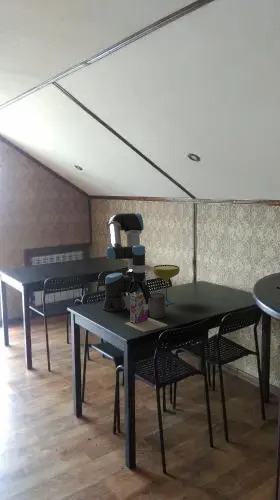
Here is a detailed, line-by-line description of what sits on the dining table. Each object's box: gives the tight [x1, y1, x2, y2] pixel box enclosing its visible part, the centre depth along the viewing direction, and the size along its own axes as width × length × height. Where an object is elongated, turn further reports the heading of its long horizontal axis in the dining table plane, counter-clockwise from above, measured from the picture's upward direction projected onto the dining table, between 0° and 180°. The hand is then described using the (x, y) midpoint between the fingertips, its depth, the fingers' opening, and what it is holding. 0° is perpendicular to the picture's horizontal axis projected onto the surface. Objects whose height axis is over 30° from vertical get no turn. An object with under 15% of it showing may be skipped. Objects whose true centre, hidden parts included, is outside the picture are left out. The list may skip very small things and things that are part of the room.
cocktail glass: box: [152, 264, 180, 306], centre depth 307 cm, size 18×18×25 cm
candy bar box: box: [129, 292, 149, 324], centre depth 265 cm, size 11×5×16 cm, turn 139°
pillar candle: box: [148, 292, 166, 319], centre depth 277 cm, size 10×10×15 cm
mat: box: [124, 317, 169, 333], centre depth 260 cm, size 18×18×1 cm
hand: (139, 306), depth 265 cm, fingers open, 13 cm apart
